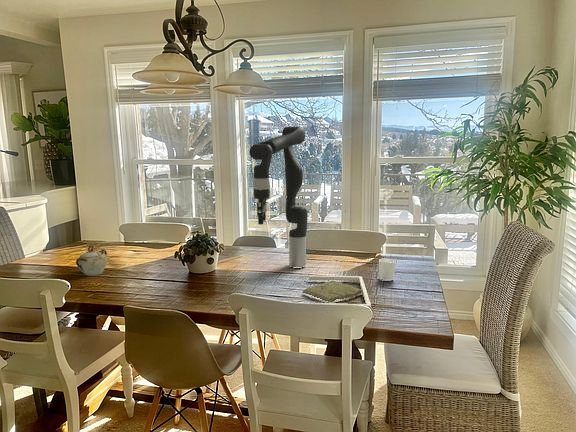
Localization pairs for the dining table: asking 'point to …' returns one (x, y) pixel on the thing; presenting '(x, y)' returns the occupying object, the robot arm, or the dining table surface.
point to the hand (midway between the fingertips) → (262, 222)
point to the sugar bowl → (92, 262)
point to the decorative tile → (332, 291)
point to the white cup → (386, 268)
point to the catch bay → (365, 295)
